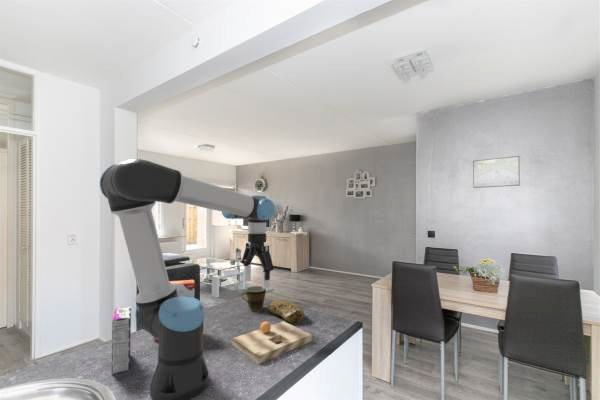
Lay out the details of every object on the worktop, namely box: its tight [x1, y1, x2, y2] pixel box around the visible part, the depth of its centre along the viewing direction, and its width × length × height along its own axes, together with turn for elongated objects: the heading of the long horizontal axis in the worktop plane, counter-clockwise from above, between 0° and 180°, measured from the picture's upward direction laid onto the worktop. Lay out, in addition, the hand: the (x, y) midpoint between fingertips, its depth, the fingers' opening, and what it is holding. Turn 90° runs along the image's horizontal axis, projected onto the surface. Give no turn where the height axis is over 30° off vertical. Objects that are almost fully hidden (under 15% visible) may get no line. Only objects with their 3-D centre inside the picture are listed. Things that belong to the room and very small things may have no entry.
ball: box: [259, 321, 272, 333], centre depth 110 cm, size 4×4×4 cm
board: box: [231, 320, 313, 365], centre depth 107 cm, size 24×17×2 cm
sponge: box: [267, 299, 305, 323], centre depth 134 cm, size 13×8×20 cm
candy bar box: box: [111, 306, 132, 375], centre depth 92 cm, size 11×5×16 cm, turn 30°
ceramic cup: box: [240, 285, 267, 312], centre depth 142 cm, size 13×10×10 cm
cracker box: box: [153, 279, 196, 342], centre depth 113 cm, size 14×6×21 cm, turn 112°
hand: (256, 284), depth 118 cm, fingers open, 13 cm apart
